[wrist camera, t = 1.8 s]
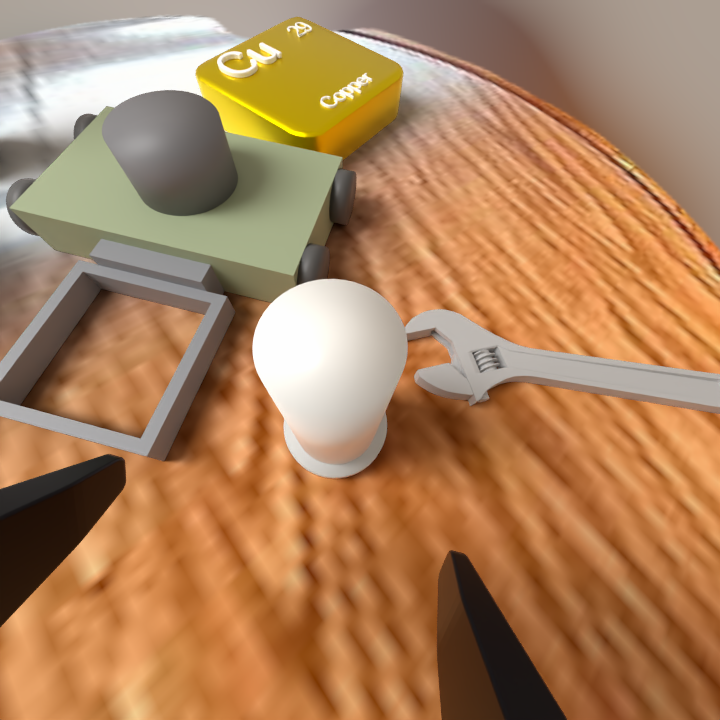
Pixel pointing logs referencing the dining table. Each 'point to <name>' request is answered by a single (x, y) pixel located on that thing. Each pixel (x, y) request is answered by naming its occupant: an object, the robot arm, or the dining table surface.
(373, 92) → the element tile
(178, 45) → the dining table surface
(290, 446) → the white cylindrical piece
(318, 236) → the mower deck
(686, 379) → the adjustable wrench
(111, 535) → the dining table surface
